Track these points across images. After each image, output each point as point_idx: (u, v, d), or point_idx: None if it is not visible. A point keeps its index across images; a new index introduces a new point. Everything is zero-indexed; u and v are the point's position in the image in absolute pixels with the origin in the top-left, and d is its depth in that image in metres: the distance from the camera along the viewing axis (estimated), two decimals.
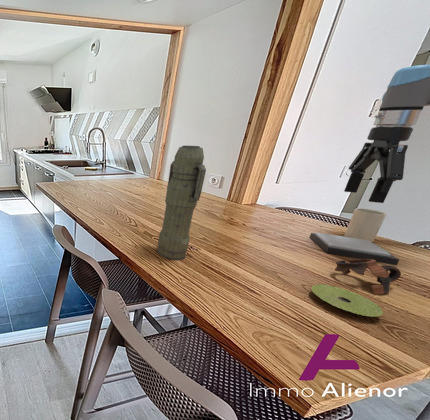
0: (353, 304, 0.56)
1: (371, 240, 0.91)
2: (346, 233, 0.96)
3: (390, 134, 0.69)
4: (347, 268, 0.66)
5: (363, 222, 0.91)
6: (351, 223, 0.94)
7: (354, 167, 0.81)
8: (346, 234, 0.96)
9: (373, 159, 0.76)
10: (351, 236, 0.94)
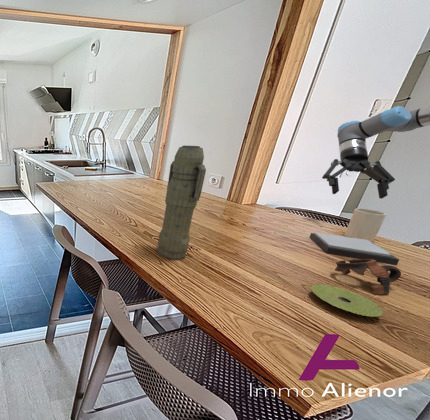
0: (353, 304, 0.56)
1: (371, 240, 0.91)
2: (346, 233, 0.96)
3: (367, 155, 1.02)
4: (347, 268, 0.66)
5: (363, 222, 0.91)
6: (351, 223, 0.94)
7: (335, 174, 1.03)
8: (346, 234, 0.96)
9: (343, 171, 1.04)
10: (351, 236, 0.94)
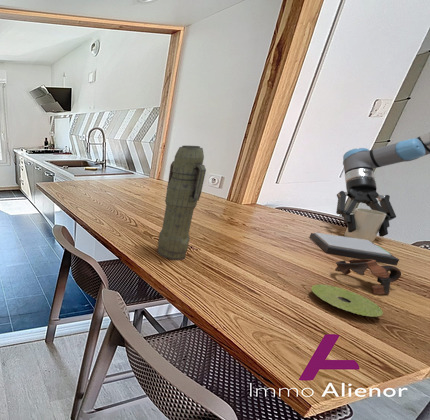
0: (353, 304, 0.56)
1: (371, 240, 0.91)
2: (346, 233, 0.96)
3: None
4: (347, 268, 0.66)
5: (363, 222, 0.91)
6: None
7: (349, 209, 0.95)
8: (346, 234, 0.96)
9: None
10: (351, 236, 0.94)
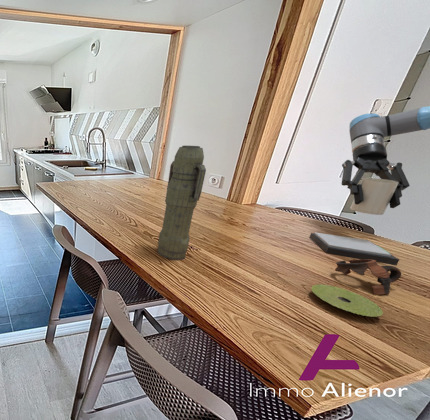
0: (353, 304, 0.56)
1: (381, 212, 0.81)
2: (352, 206, 0.86)
3: (386, 153, 0.85)
4: (347, 268, 0.66)
5: (372, 192, 0.81)
6: None
7: (356, 179, 0.85)
8: (352, 207, 0.86)
9: None
10: (358, 209, 0.84)
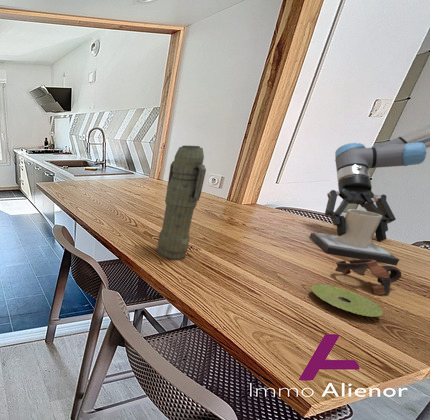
0: (353, 304, 0.56)
1: (365, 245, 0.81)
2: (338, 237, 0.85)
3: None
4: (347, 268, 0.66)
5: (356, 225, 0.80)
6: None
7: (339, 210, 0.85)
8: (337, 238, 0.85)
9: None
10: (343, 240, 0.83)
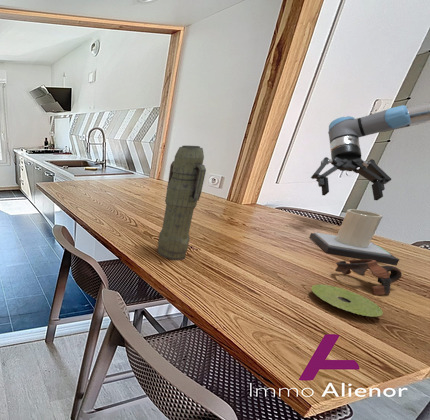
0: (353, 304, 0.56)
1: (365, 245, 0.81)
2: (338, 237, 0.85)
3: (360, 153, 0.93)
4: (348, 269, 0.66)
5: (356, 225, 0.80)
6: (343, 226, 0.84)
7: (324, 173, 0.94)
8: (337, 238, 0.85)
9: (334, 170, 0.95)
10: (343, 240, 0.83)
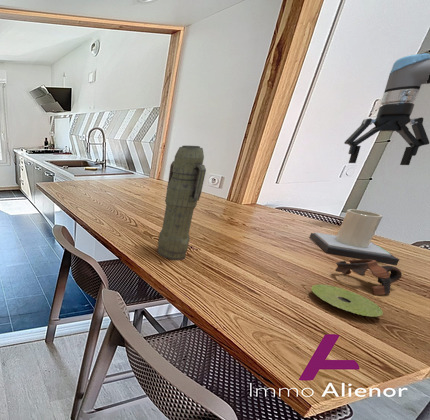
0: (353, 304, 0.56)
1: (365, 245, 0.81)
2: (338, 237, 0.85)
3: (412, 109, 0.85)
4: (348, 269, 0.65)
5: (356, 225, 0.80)
6: (343, 226, 0.84)
7: (359, 141, 0.92)
8: (337, 238, 0.85)
9: None
10: (343, 240, 0.83)
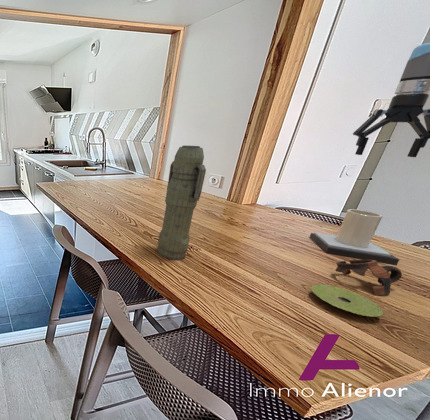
0: (353, 304, 0.56)
1: (365, 245, 0.81)
2: (338, 237, 0.85)
3: (426, 100, 0.83)
4: (348, 269, 0.65)
5: (356, 225, 0.80)
6: (343, 226, 0.84)
7: (368, 132, 0.92)
8: (337, 238, 0.85)
9: None
10: (343, 240, 0.83)
